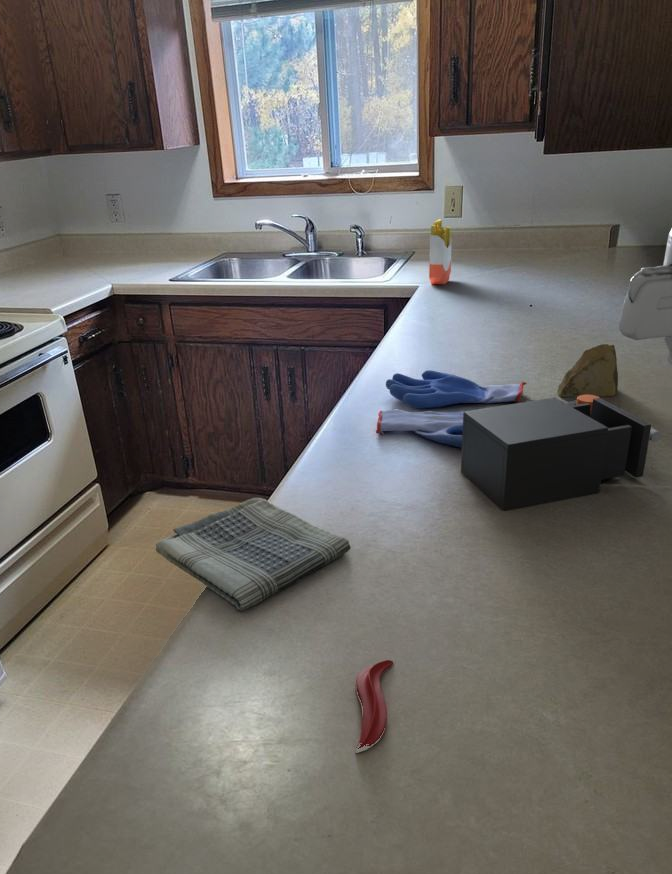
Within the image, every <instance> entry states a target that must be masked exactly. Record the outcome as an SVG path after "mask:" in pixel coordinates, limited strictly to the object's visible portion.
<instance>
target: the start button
mask: <svg viewBox="0 0 672 874" xmlns="http://www.w3.org/2000/svg"><path fill="white" fill-rule="evenodd" d="M596 398H601V397H598V396H595V395H580V396H578V397H576V400H577V404H576V405H578V404H584V403H589V404H591V407H590V411H592V403H593V399H596Z"/></svg>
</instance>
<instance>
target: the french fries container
mask: <svg viewBox="0 0 672 874" xmlns="http://www.w3.org/2000/svg"><path fill="white" fill-rule="evenodd" d="M442 221H443V220H442V219H436V221H433V224H431V225H430V234H429V269H428V270H429V271H428V276H429V277H428V278H429V282H430V284H431V285H446V284H447V283H448V282H449V280H450V277H451V272H452V244H453V243H452V241H453V240H452V239H453V238H452V236H453V235H452V231H451V226H449V225H447V226H445V227H443V226H442V225H443V224H442Z"/></svg>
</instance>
